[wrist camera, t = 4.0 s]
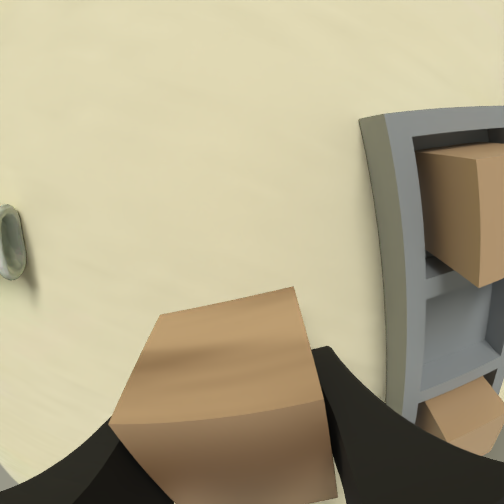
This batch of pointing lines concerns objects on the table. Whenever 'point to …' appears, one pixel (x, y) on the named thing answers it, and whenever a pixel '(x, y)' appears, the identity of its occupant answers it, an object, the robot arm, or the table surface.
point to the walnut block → (230, 406)
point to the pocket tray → (442, 266)
